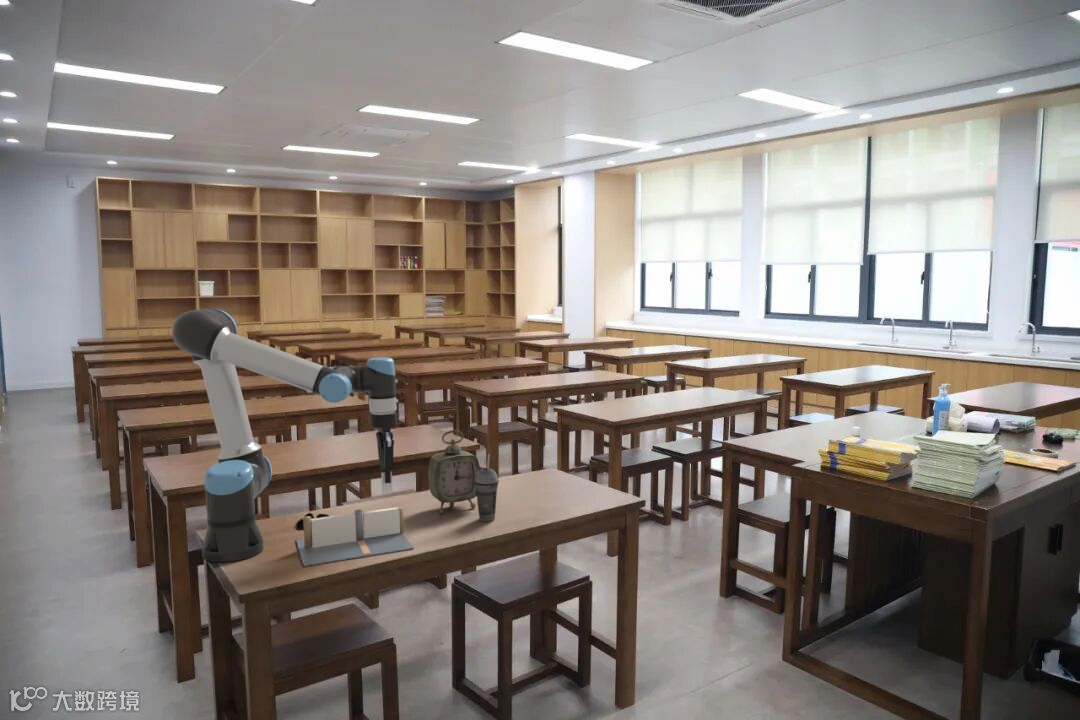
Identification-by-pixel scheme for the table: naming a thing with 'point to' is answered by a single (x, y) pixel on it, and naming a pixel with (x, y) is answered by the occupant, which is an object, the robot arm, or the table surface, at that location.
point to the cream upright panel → (383, 522)
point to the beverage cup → (486, 492)
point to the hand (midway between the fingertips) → (387, 493)
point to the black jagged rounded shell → (300, 522)
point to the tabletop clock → (453, 474)
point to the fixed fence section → (333, 529)
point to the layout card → (353, 549)
